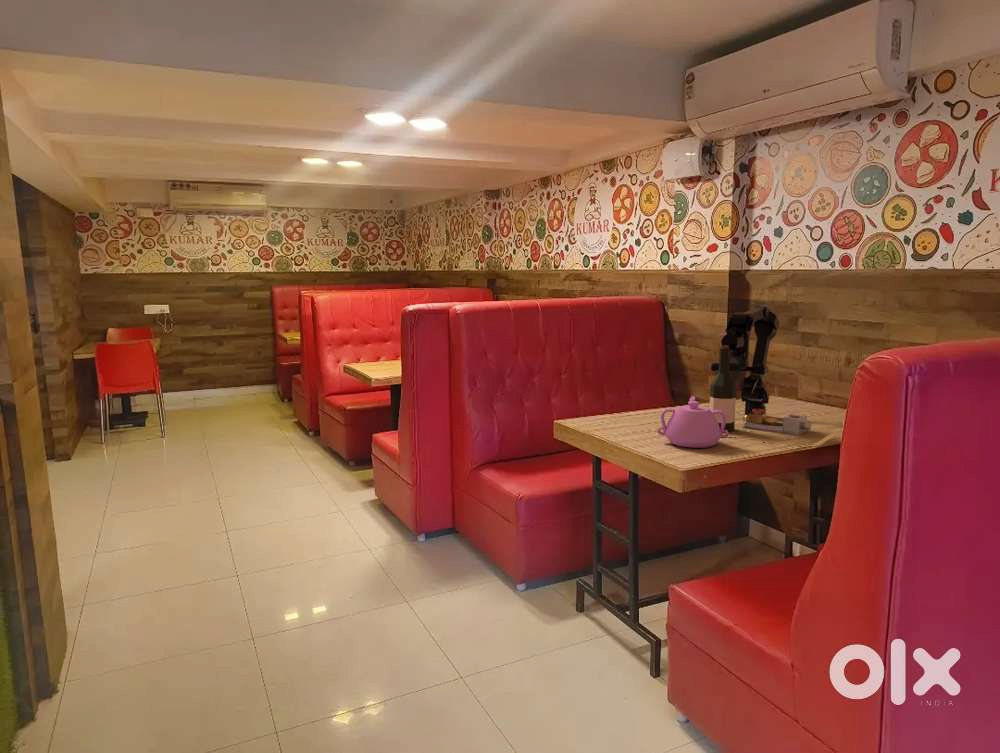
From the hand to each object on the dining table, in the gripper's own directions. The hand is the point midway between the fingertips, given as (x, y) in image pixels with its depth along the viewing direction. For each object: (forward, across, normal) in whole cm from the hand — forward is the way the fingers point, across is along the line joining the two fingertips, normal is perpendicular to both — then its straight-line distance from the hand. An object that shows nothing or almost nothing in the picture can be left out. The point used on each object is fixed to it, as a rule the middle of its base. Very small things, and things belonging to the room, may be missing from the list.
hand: (738, 392), depth 240 cm
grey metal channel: (+12, +14, -2) cm, 18 cm away
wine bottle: (+13, -1, -14) cm, 19 cm away
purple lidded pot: (+13, -4, -32) cm, 35 cm away
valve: (+11, +8, -1) cm, 14 cm away
